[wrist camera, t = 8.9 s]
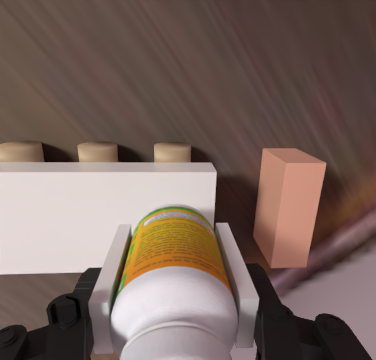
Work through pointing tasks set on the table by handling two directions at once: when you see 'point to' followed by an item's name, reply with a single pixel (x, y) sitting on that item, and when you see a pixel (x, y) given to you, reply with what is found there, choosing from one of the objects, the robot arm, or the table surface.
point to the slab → (87, 208)
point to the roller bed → (93, 152)
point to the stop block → (287, 205)
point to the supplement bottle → (174, 291)
